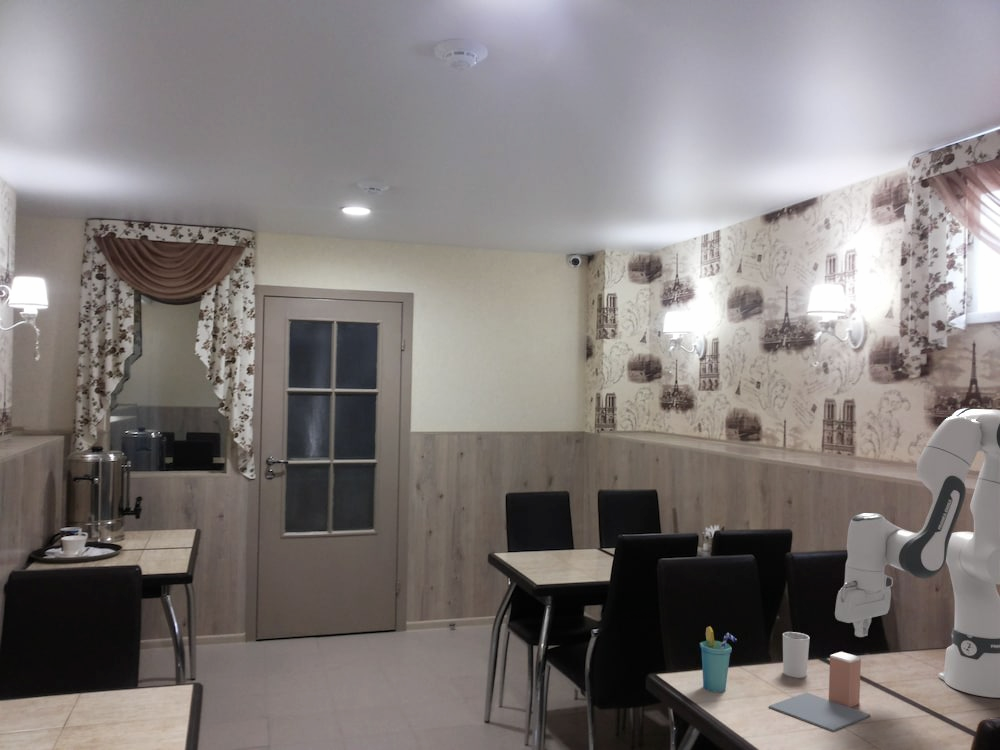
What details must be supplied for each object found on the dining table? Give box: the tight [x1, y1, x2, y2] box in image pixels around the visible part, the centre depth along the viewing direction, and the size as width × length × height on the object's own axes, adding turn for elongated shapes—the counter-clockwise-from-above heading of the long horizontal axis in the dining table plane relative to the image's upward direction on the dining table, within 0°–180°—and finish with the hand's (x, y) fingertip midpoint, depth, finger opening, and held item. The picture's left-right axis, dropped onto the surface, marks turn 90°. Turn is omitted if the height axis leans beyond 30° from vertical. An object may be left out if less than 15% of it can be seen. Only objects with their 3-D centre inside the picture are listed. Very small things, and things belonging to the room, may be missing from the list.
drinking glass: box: [782, 631, 810, 679], centre depth 215 cm, size 7×7×10 cm
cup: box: [699, 626, 738, 693], centre depth 201 cm, size 14×8×15 cm, turn 20°
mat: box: [768, 691, 871, 733], centre depth 189 cm, size 16×16×1 cm
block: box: [828, 651, 862, 708], centre depth 196 cm, size 5×5×11 cm
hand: (861, 635), depth 201 cm, fingers closed
